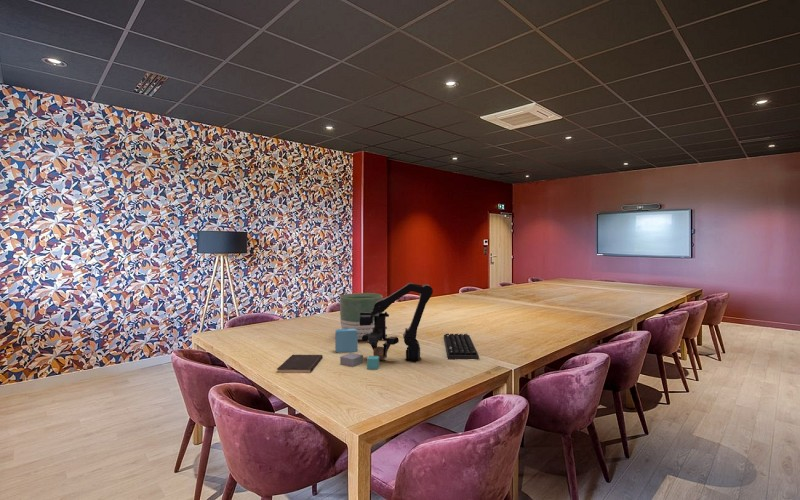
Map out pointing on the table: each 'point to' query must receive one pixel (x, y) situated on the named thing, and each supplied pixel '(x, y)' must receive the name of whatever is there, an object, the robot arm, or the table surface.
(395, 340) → the robot arm
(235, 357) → the table surface
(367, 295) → the planter
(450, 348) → the computer keyboard
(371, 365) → the teal cube
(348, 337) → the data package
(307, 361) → the hardcover book
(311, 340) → the table surface
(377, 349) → the walnut cube
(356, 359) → the slate base block
